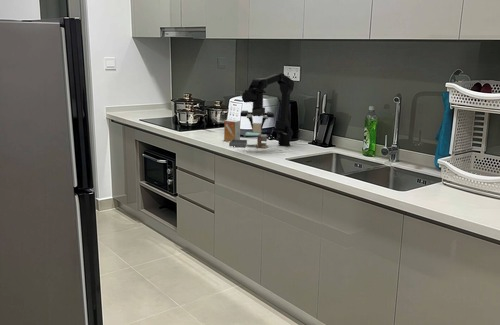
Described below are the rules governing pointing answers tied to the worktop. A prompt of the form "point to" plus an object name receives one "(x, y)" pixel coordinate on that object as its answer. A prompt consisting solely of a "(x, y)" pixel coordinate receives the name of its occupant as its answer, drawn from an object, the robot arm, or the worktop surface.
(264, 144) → the frame
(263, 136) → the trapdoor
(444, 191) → the worktop surface
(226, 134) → the small box
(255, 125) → the stone
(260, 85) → the robot arm
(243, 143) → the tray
